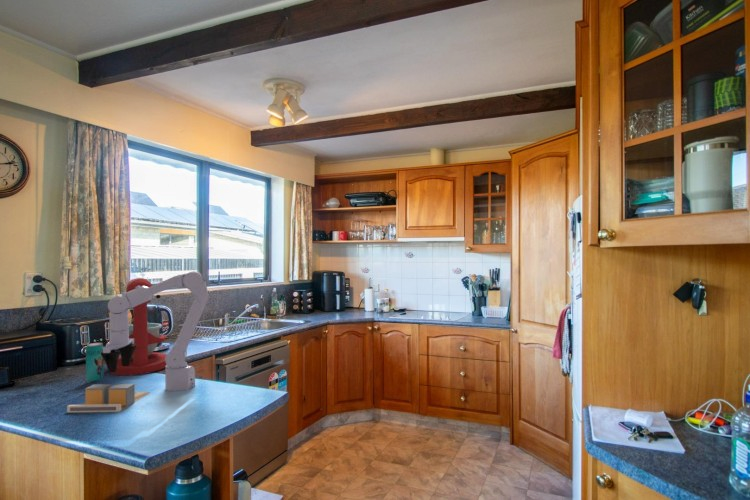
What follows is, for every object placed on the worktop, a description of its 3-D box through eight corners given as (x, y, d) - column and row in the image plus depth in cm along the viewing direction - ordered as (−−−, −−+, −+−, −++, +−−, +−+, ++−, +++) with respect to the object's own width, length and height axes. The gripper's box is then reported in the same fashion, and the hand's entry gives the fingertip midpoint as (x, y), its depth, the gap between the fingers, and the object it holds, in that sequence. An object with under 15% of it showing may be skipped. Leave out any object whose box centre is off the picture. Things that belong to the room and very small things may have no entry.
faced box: (134, 402, 132) (134, 384, 132) (126, 407, 128) (126, 388, 128) (116, 402, 132) (116, 384, 132) (107, 407, 128) (107, 388, 128)
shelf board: (151, 395, 142) (151, 392, 142) (119, 415, 124) (119, 411, 124) (105, 396, 142) (105, 392, 142) (67, 416, 124) (67, 412, 124)
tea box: (111, 402, 132) (111, 384, 132) (103, 407, 128) (103, 388, 128) (93, 402, 132) (93, 384, 132) (84, 407, 128) (84, 388, 128)
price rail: (121, 410, 125) (121, 403, 125) (119, 411, 124) (119, 405, 124) (69, 411, 125) (69, 404, 125) (66, 412, 124) (66, 406, 124)
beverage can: (94, 384, 155) (94, 345, 156) (82, 383, 156) (82, 345, 157) (107, 380, 161) (107, 342, 161) (95, 379, 162) (95, 342, 162)
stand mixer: (165, 356, 200) (165, 276, 201) (173, 370, 174) (172, 278, 175) (108, 363, 187) (108, 277, 188) (107, 380, 161) (107, 280, 162)
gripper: (120, 326, 148) (120, 363, 148) (93, 334, 134) (93, 375, 134) (139, 326, 148) (139, 363, 148) (115, 333, 134) (115, 374, 134)
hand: (119, 368), depth 141 cm, fingers open, 7 cm apart
